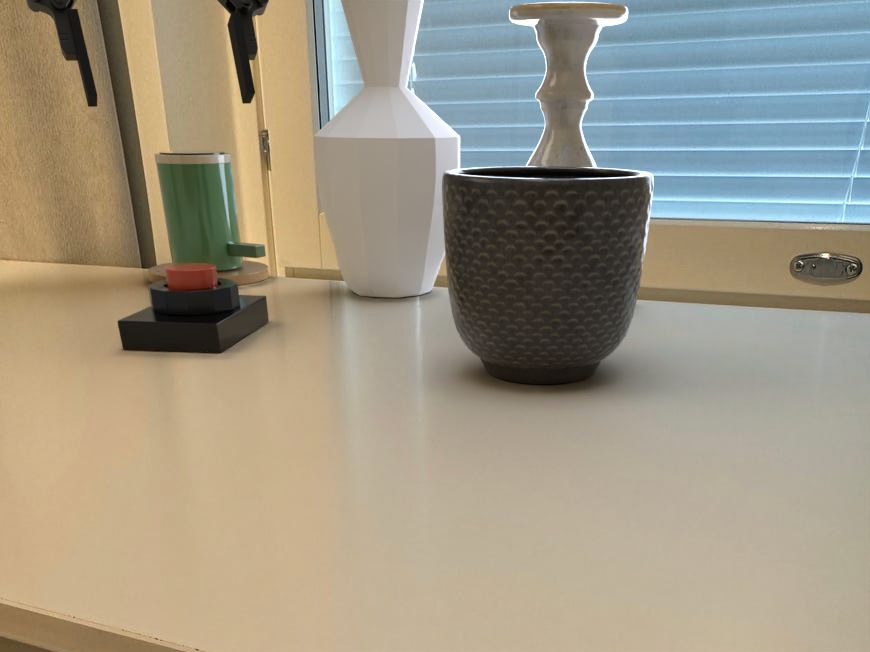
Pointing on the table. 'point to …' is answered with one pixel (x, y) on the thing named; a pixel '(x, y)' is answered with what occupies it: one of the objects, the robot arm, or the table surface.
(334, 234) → the vase
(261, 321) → the black base
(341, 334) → the table surface
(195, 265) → the timer button
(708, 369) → the table surface
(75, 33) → the robot arm
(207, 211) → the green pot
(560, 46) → the candle holder
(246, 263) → the trivet
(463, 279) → the planter
